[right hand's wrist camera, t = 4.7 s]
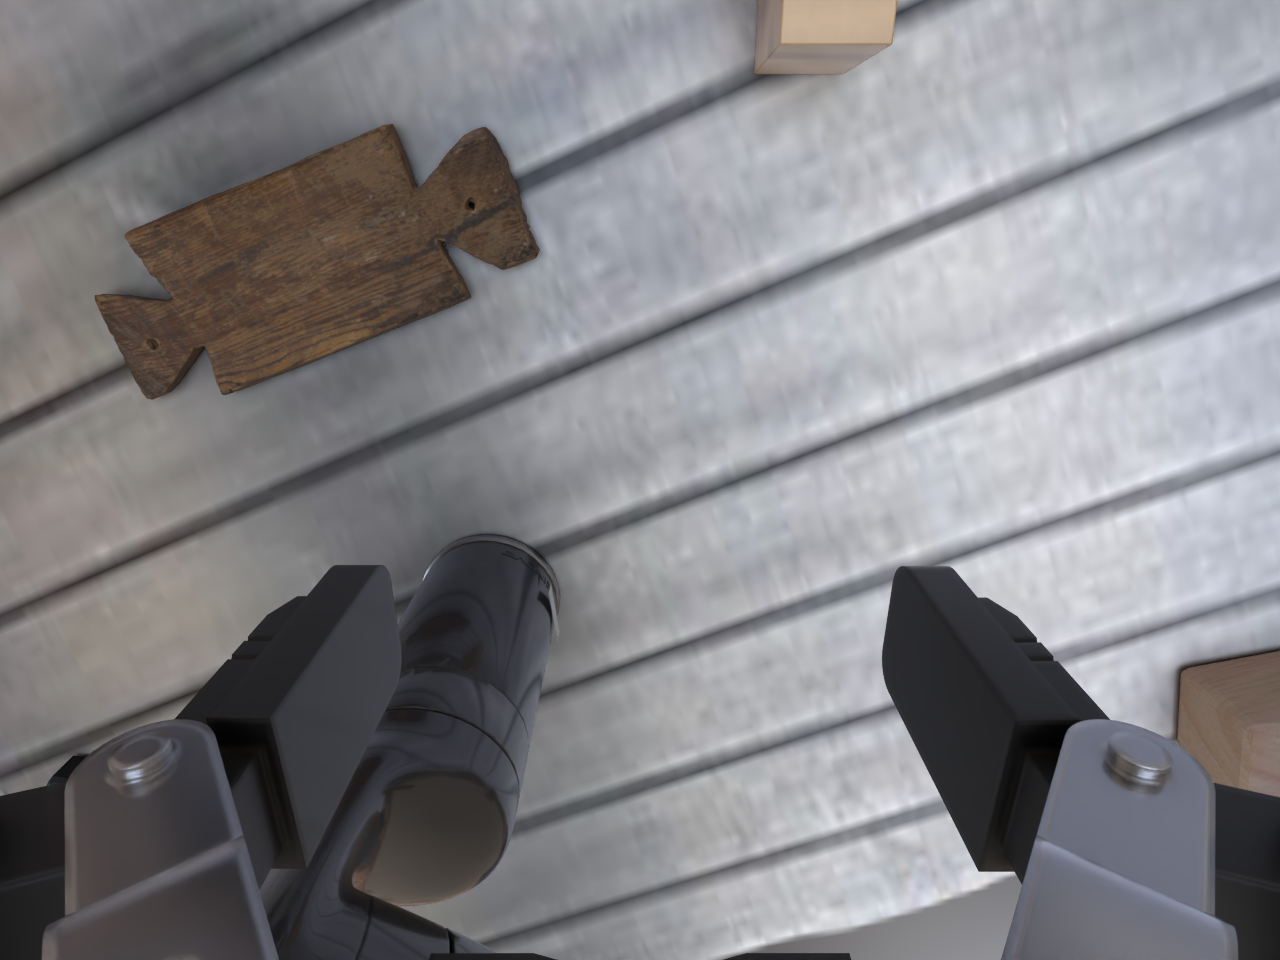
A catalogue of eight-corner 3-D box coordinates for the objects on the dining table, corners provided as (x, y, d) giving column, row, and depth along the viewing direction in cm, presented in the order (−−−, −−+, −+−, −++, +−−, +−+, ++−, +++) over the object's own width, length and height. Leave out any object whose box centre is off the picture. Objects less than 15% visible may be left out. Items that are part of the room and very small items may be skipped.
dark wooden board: (74, 258, 41) (173, 414, 44) (51, 261, 39) (156, 422, 43) (479, 87, 37) (551, 271, 41) (472, 82, 36) (547, 274, 39)
